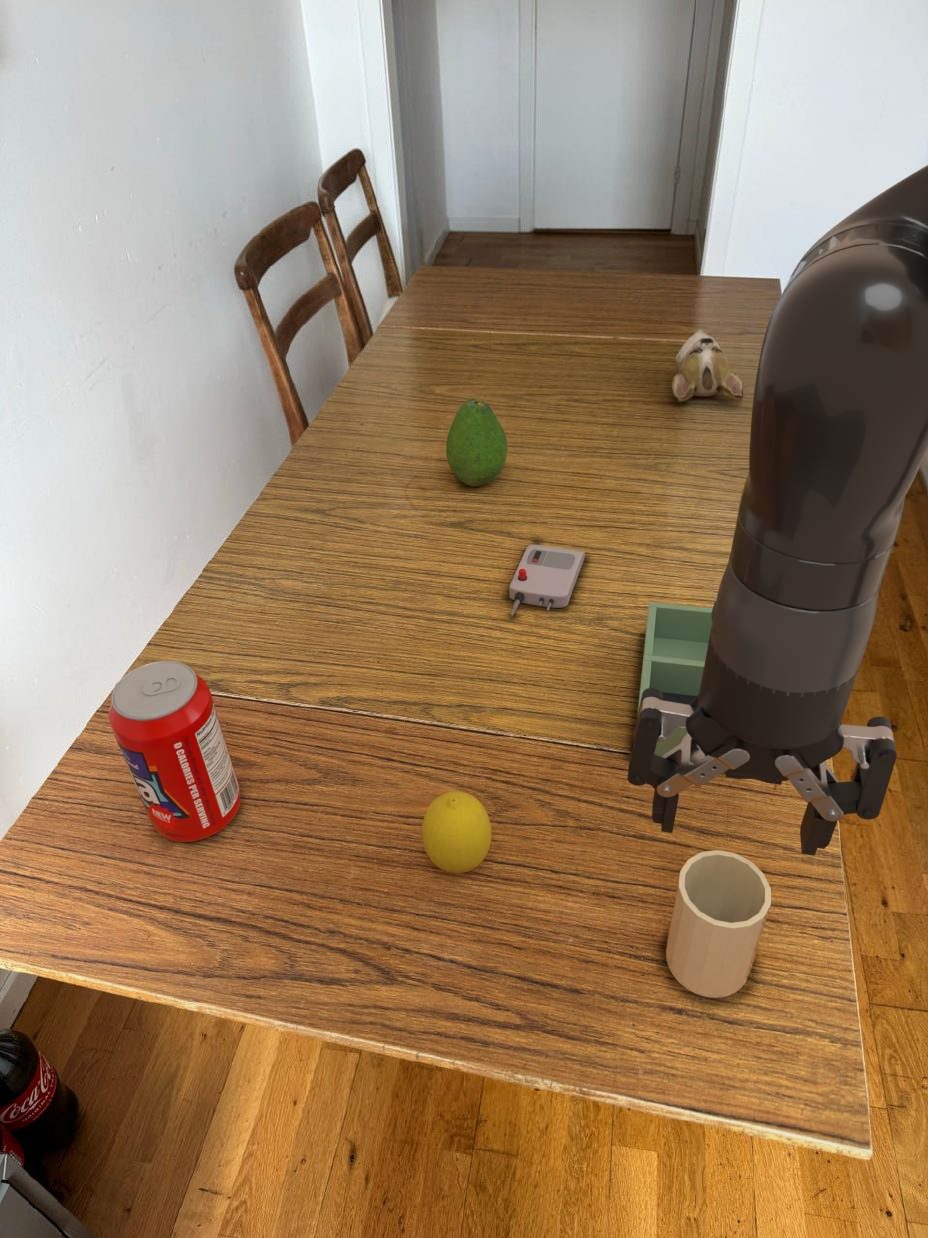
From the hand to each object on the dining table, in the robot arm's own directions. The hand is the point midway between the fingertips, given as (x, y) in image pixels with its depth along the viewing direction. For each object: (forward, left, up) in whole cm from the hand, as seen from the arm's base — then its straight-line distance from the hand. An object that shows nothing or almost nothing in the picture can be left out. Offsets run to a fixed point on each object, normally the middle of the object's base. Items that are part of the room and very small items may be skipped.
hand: (736, 832), depth 56 cm
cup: (0, 0, -15) cm, 15 cm away
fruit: (+55, -46, -15) cm, 73 cm away
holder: (+13, -24, -15) cm, 31 cm away
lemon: (+20, +4, -15) cm, 25 cm away
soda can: (+42, +13, -15) cm, 46 cm away
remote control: (+35, -32, -15) cm, 50 cm away
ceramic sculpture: (+42, -87, -15) cm, 98 cm away
